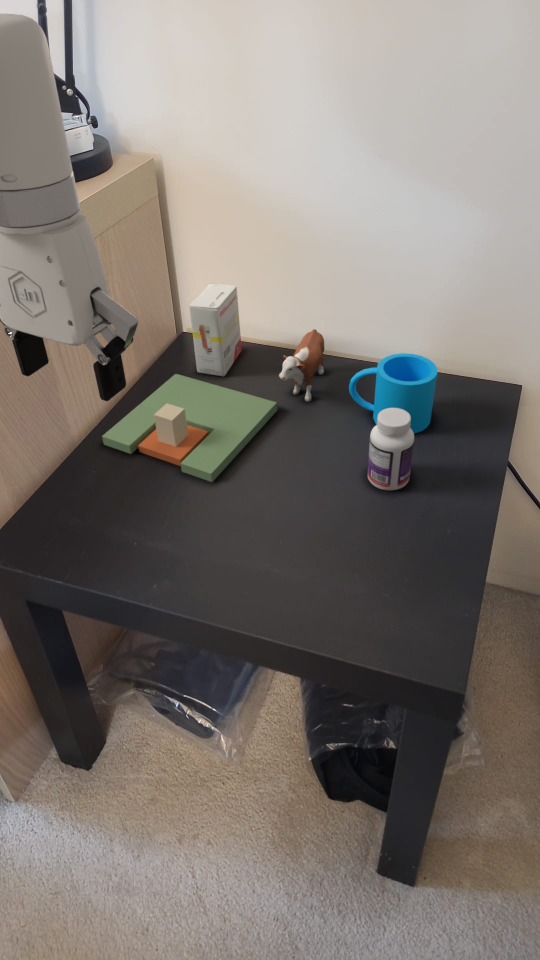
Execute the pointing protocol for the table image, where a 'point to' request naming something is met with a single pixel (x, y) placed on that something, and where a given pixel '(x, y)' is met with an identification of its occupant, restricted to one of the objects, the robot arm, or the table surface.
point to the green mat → (198, 422)
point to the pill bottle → (391, 450)
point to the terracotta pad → (172, 451)
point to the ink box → (216, 329)
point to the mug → (401, 387)
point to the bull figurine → (305, 362)
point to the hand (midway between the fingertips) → (74, 381)
